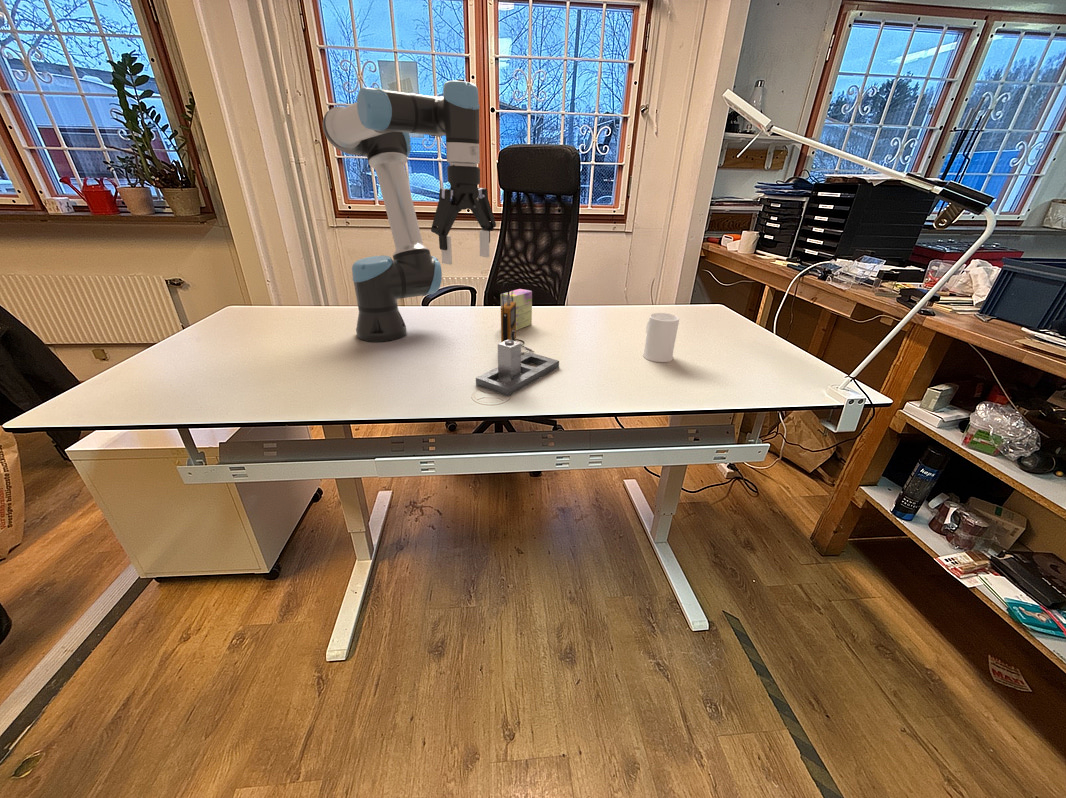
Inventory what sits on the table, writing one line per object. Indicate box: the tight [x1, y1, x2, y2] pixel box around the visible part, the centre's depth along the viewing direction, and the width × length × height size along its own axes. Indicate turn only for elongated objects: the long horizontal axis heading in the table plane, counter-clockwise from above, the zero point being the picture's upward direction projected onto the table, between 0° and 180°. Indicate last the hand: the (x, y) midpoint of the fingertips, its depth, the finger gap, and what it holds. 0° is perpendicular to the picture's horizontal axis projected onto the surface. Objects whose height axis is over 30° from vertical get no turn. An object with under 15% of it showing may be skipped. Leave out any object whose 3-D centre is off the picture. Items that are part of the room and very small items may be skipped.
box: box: [500, 288, 533, 331], centre depth 142 cm, size 10×6×12 cm, turn 144°
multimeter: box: [500, 278, 535, 355], centre depth 122 cm, size 15×10×20 cm
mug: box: [642, 312, 680, 363], centre depth 121 cm, size 12×8×12 cm
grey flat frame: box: [475, 351, 560, 397], centre depth 108 cm, size 10×22×2 cm, turn 144°
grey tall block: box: [497, 340, 522, 384], centre depth 103 cm, size 4×4×10 cm
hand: (466, 260), depth 108 cm, fingers open, 13 cm apart
